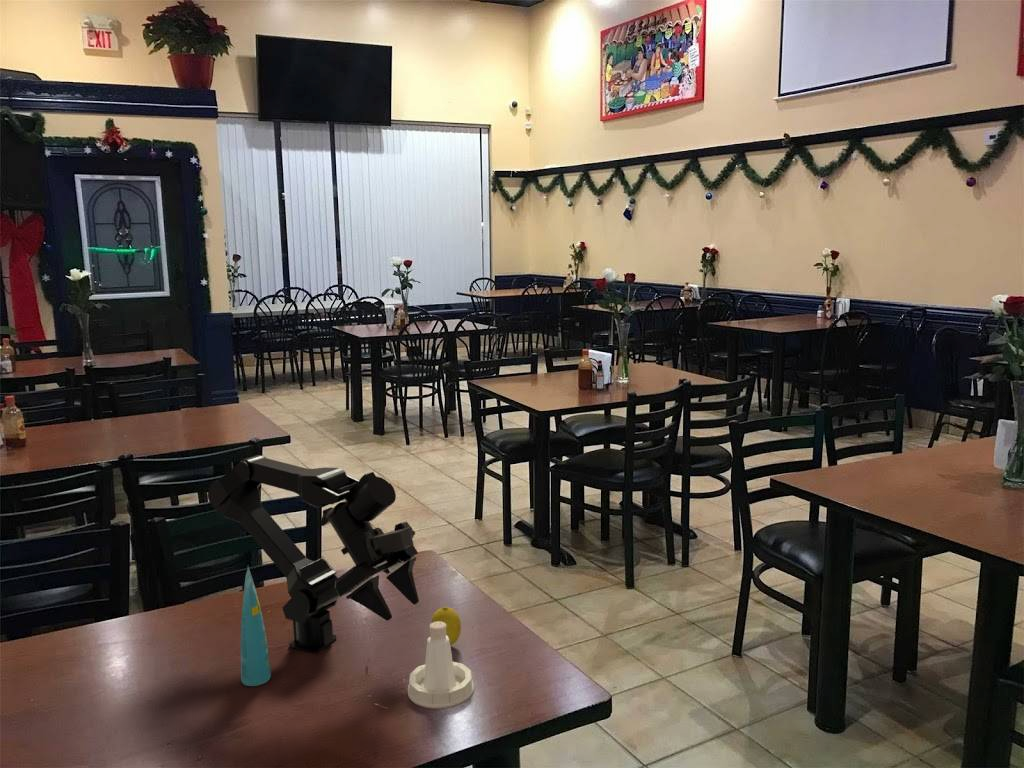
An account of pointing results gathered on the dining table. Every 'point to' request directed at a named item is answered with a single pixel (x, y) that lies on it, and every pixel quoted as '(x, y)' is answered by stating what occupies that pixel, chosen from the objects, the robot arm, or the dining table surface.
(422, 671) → the ring dish
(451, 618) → the lemon
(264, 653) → the tube
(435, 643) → the pepper shaker
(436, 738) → the dining table surface
